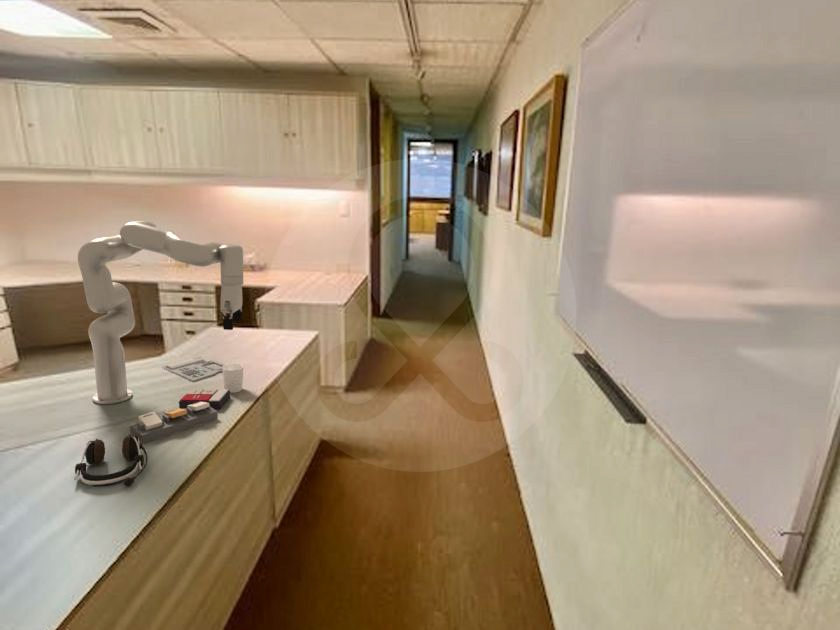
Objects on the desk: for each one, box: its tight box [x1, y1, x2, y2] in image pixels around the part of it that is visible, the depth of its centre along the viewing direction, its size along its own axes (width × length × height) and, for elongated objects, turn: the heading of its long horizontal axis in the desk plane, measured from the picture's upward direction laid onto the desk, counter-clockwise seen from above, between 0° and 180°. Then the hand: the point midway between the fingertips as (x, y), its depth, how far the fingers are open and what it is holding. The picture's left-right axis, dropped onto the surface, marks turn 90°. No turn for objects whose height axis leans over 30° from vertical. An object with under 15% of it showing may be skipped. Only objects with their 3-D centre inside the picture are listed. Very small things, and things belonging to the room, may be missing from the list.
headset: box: [74, 434, 148, 487], centre depth 134 cm, size 17×8×20 cm
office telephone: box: [161, 356, 226, 383], centre depth 212 cm, size 23×3×20 cm
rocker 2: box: [187, 402, 210, 411], centre depth 167 cm, size 5×6×2 cm
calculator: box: [178, 388, 231, 411], centre depth 180 cm, size 11×4×15 cm
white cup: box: [221, 362, 244, 394], centre depth 192 cm, size 8×8×10 cm
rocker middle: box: [163, 407, 187, 418], centre depth 161 cm, size 5×6×2 cm
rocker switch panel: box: [129, 402, 219, 445], centre depth 161 cm, size 25×9×5 cm, turn 142°
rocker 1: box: [138, 411, 162, 430], centre depth 155 cm, size 5×6×2 cm
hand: (233, 325), depth 173 cm, fingers open, 9 cm apart
